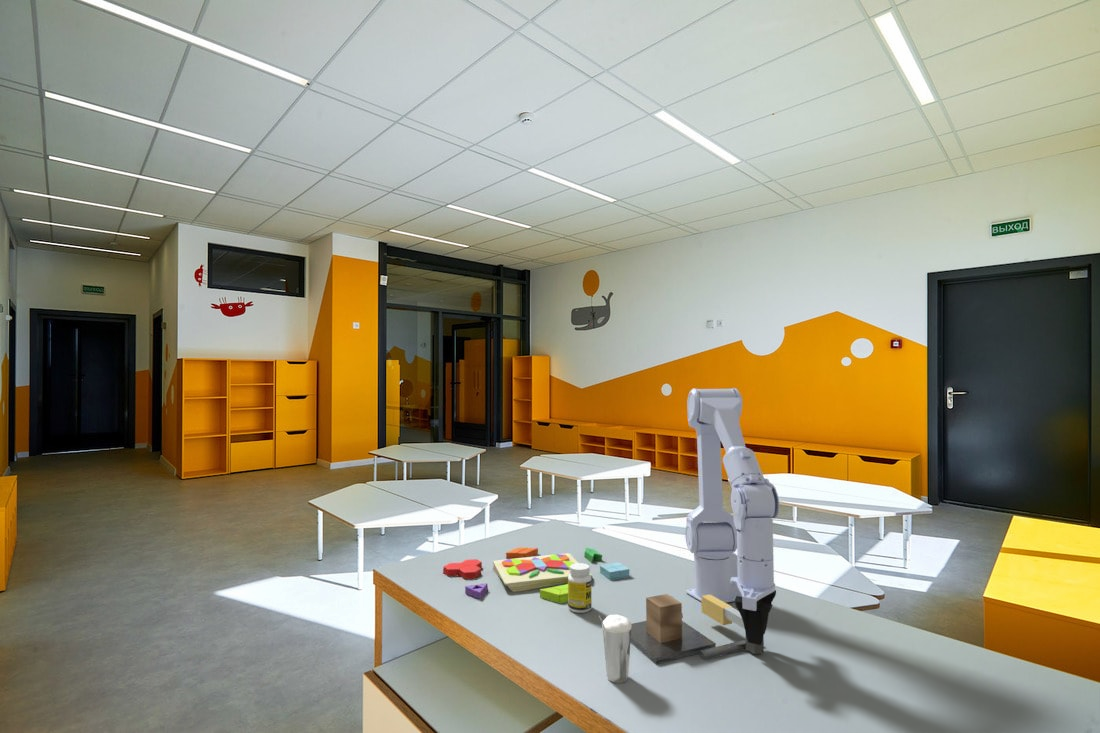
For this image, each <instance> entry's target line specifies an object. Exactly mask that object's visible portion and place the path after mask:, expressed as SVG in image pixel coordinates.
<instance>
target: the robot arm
mask: <svg viewBox="0 0 1100 733" xmlns="http://www.w3.org/2000/svg"><path fill="white" fill-rule="evenodd" d="M687 396H688V397H687V401H686V402H687V403H686V406H687V409H686V410H687V411H686V412H687V422H688V426H689V427H690V428H693V429H694V430H695V433H696V444H697V447H696V449H697V469H698V470H697V473H698V475H697V476H698V501H699V503H698V504H699V505H698V506H697V507H696V508H694V509H693V510H692V511H690V512H689V513H688V514H687V516H686V524H685V530H684V535H685V536H684V537H685V538H684V539H685V543H686V547H687V549H688V551H689V552H690V553H691V554H693V564H694V565H693V566H694V567H693V570H694V572H693V573H694V575H693V576H694V578H693V579H694V580H693V582H694V588H689V589H686V590H685V593H686V594H687V595H689V596H690V597H691V596H692V597H693V598H694V599H696V600H698V601H700V602H701V603H702V599H701V596H704V595H709V594H710V595H712V596H714V597H716V598H718V599H719V600H721V601H723V602H725V603H727V604H728V603H731V602H734V604H735V607H736V610H738V611H739V612H740V615H741V617H742V620H743V624H744V628H745V629H744V628H743V629H744V631H745V632H746V635H745V638H746V637H747V640H748V642H749V643H753V644H758V645H761V644H762V641H763V636H765V634H766V630H767V627H768V621H769V620H768V619H769V614H770V612H771V610H772V607H773V600H774V599H775V597H776V595H777V590H776V583H775V576H774V574H775V572H774V571H775V569H774V568H775V566H774V564H775V563H774V560H775V559H774V522H773V519H776V518H778V515H779V511H780V500H779V499H780V498H779V495H778V492H777V489H776V487H775V485H774V484H773V483H772V482H770V480H769V479H768V478H765V477H764V474H763V472H762V470H761V466H760V464H759V462H758V459H757V457H756V454H755V452H754V451H753V449H751V448H748V447H746V443H745V440H744V436H743V431H742V428H741V424H740V419H741V415H742V411H743V398H742V395H741V392H740V391H739V390H738V389H737V388H735V387H732V388H696V387H695V388H694V387H693V388H692V389H691V390H690V391H689V393H688V395H687ZM721 444H722V445H721ZM721 446H723V448H724V451H725V454H724V455H723V457H722V448H721ZM722 463H723V467H724V470H725V472H726V475H727V479H728V481H729V485H730V488H731V491H730V492H731V494H730V507H731V510H732V513H731V512H729V511H728V510H727V509H725V508H724V504H723V503H724V499H723V497H724V496H723V495H724V494H723V475H722Z"/></svg>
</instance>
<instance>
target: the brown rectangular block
mask: <svg viewBox="0 0 1100 733" xmlns="http://www.w3.org/2000/svg"><path fill="white" fill-rule="evenodd" d="M645 604H646V605H645V611H646V612H645V613H646V616H645V618H646V619H645V621H646V625H647V633H649V634H650V635H651V636H652V637H654V638H655V639H656V640H657V641H659V642H660V643H663V642H667V641H672V640H676V639H681V638H682V621H683V617H684V614H683V610H682V608H683V606H682V604H683V603H682V601H679V600H678V599H676V598H674V597H672V596H671V595H670V594H668V593H664V594H660V595H654V596H650V597H645Z"/></svg>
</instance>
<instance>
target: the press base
mask: <svg viewBox="0 0 1100 733" xmlns="http://www.w3.org/2000/svg"><path fill="white" fill-rule="evenodd" d="M631 624H632V630H631V641H630V644H632V645H633V646H634V647H635V648H637V649H638V650H639V652H641V653H642V654H644V656H646V657H647V658H648V659H649V660H650V661H651V662H653V664H655V665H657V664H662V663H666V662H669V661H673V660H678V659H682V658H686V657H690V656H694V655H699V657H700V658H701V659H702V660H708V659H712V658H716V657H721V656H725V655H729V654H732V653H735V652H736V653H737V652H740V651H744V650H747V649H746V639H743V640H739V641H734V642H731V643H727V644H722V645H717V646H716V642H715V641H713V640H711V639H710V638H708V637H707V636H706V635H704V634H703V633H701V632H699V631H698V630H697V629H695V628H693V627H692V626H690V625H689V624H688V623H686V622H684V621H683V620H682V638H681V639H676V640H672V641H667V642H663V643H660V642H659V641H657V640H656V639H655V638H654V637H652V636H651V635H650V634H649V633H647V625H646V620H644V621H640V622H639V621H638V622H634V623H631Z"/></svg>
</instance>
